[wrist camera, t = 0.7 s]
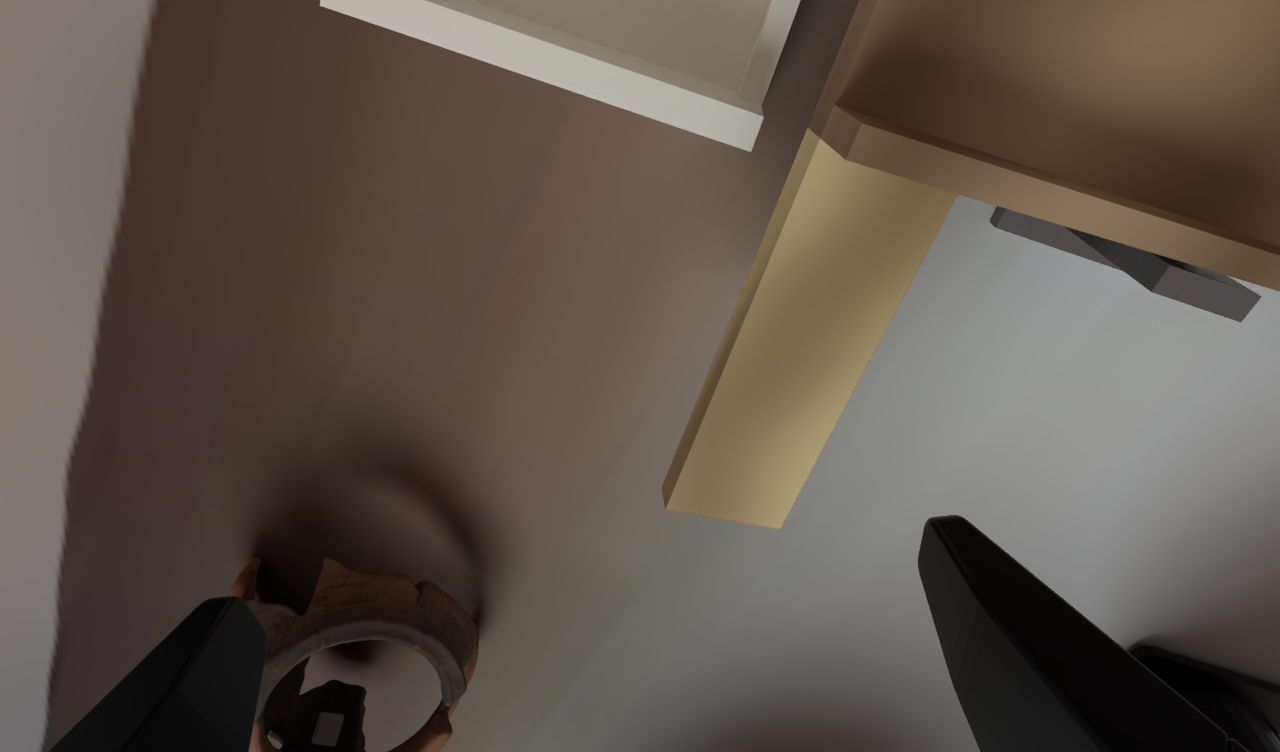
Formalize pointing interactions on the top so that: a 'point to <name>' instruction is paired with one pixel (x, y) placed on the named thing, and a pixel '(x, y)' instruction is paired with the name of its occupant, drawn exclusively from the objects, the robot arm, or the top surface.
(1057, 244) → the fulcrum
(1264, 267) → the tan flat board
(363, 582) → the pottery mug
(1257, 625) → the top surface
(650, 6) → the dish
